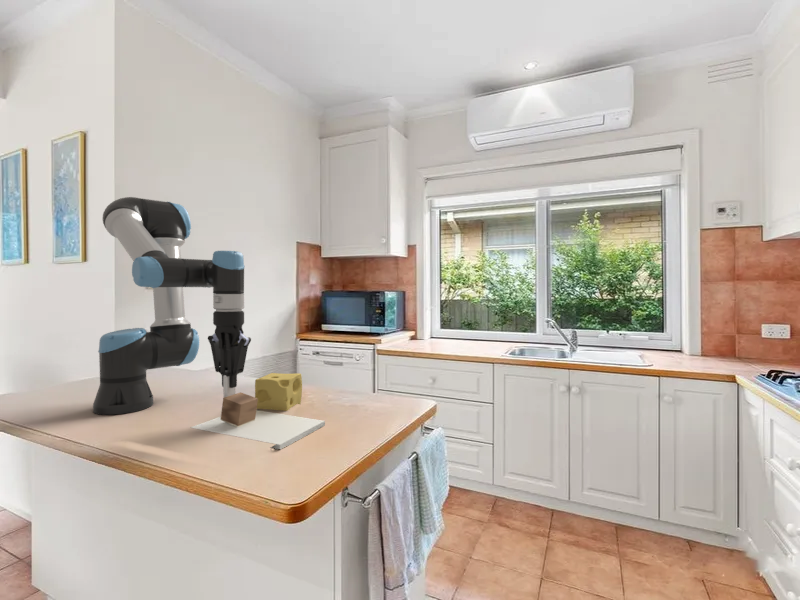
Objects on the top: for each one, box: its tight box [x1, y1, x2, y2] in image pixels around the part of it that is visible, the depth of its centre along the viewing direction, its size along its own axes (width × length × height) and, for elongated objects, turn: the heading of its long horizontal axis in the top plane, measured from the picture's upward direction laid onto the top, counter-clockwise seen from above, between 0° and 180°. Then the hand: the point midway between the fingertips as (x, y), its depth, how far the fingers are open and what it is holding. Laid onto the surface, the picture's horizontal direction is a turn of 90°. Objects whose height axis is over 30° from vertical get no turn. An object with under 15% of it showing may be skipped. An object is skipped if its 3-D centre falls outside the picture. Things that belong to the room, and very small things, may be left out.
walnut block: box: [220, 392, 258, 427], centre depth 108 cm, size 6×6×6 cm
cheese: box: [254, 372, 303, 412], centre depth 125 cm, size 10×11×10 cm
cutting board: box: [190, 409, 326, 450], centre depth 107 cm, size 28×18×1 cm, turn 67°
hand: (229, 399), depth 110 cm, fingers closed
